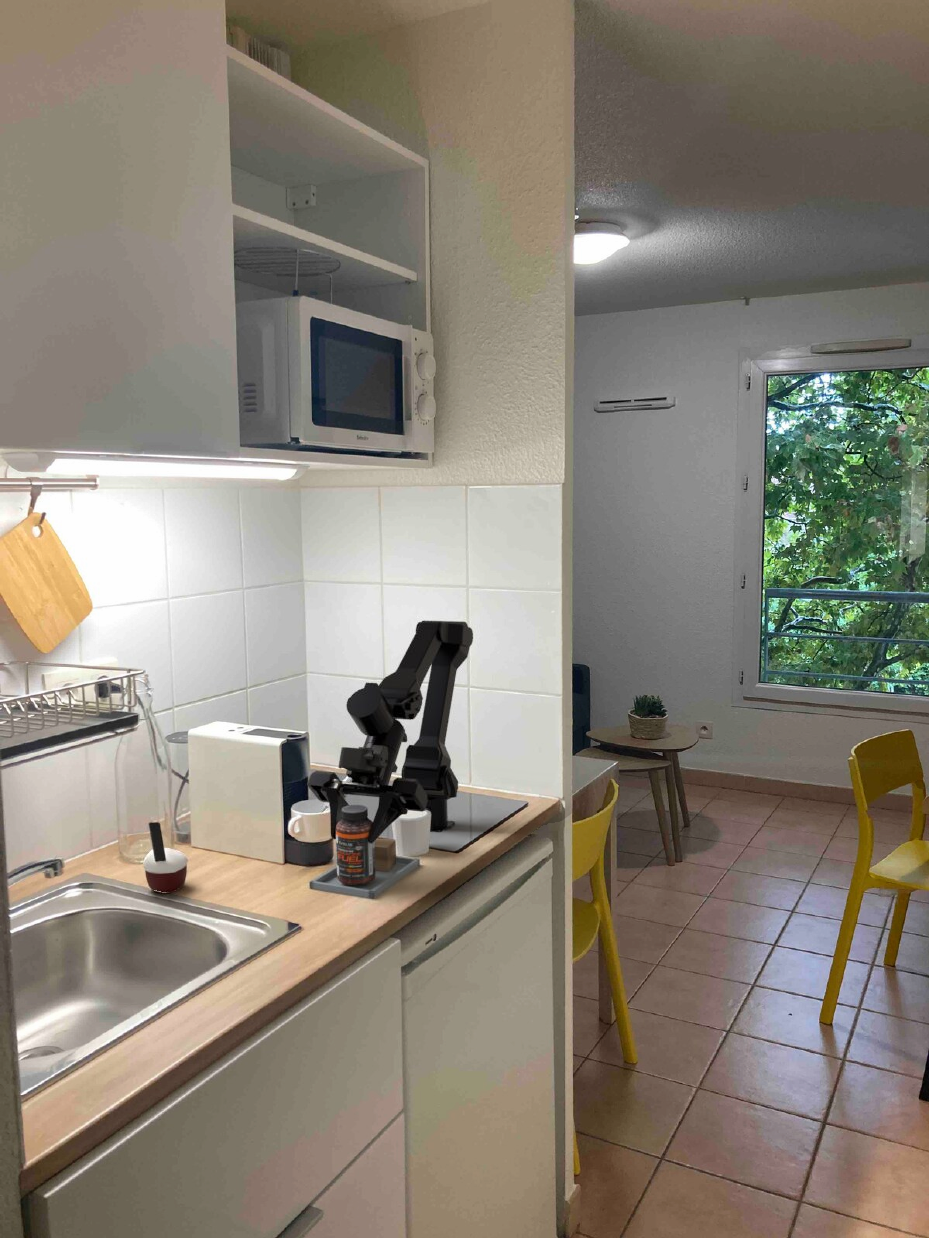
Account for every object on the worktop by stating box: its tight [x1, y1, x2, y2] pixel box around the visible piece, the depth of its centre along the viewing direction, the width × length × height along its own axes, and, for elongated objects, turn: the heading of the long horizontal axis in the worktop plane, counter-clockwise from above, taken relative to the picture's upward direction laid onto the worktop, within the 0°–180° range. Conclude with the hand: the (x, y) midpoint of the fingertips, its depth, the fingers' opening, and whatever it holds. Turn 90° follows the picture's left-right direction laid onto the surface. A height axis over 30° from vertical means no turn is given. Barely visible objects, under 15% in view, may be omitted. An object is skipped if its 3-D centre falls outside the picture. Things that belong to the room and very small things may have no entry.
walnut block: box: [375, 837, 397, 872], centre depth 160 cm, size 4×4×4 cm
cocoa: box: [142, 821, 189, 893], centre depth 153 cm, size 10×6×12 cm, turn 159°
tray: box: [308, 855, 421, 900], centre depth 156 cm, size 15×11×2 cm
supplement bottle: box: [335, 804, 375, 885], centre depth 152 cm, size 6×6×11 cm
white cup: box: [391, 810, 431, 857], centre depth 167 cm, size 7×7×7 cm
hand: (351, 840), depth 151 cm, fingers open, 6 cm apart
